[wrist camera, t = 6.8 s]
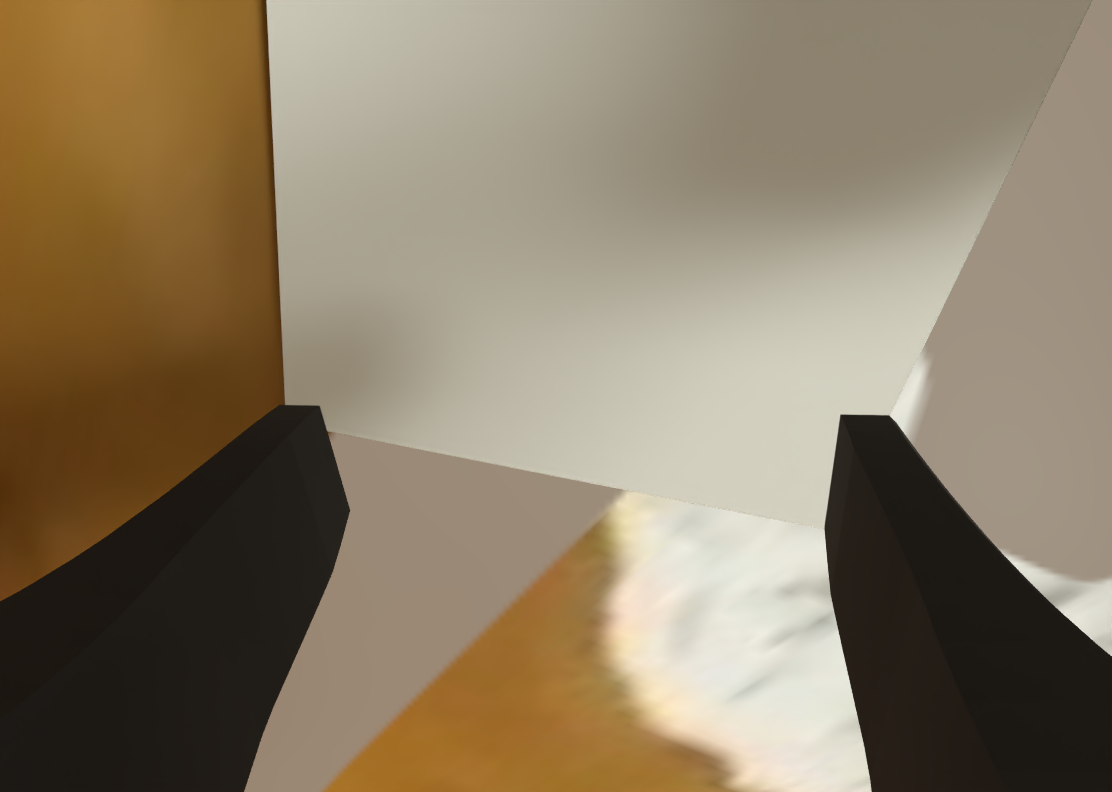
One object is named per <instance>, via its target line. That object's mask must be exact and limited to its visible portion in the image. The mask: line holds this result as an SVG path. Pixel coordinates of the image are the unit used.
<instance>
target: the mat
mask: <svg viewBox="0 0 1112 792" xmlns="http://www.w3.org/2000/svg"><path fill="white" fill-rule="evenodd" d="M266 2H267V24H268V45H269V67H270V88H271V110H272V132H273V153H274V175H275V197H276V218H277V240H278V262H279V283H280V305H281V326H282V348H283V370H284V391H285V405H317V406H320V408H321V412H322V415H323V419H324V422H325V425H326V429H327V431H329V432H334V433H339V434H344V435H349V436H354V437H359V438H364V439H369V440H374V441H379V442H384V443H389V444H395V445H400V446H405V447H410V448H415V449H420V450H425V451H430V452H435V453H440V454H445V455H451V456H455V457H461V458H466V459H471V460H476V461H481V462H486V463H491V464H496V465H502V466H506V467H512V468H516V469H522V470H526V471H532V472H537V473H542V474H547V475H552V476H557V477H562V478H567V479H572V480H577V481H582V482H587V483H592V484H597V485H603V486H608V487H613V488H618V489H623V490H628V491H633V492H638V493H643V494H648V495H653V496H658V497H663V498H668V499H674V500H679V501H684V502H689V503H694V504H699V505H704V506H709V507H714V508H719V509H724V510H729V511H734V512H739V513H745V514H750V515H755V516H760V517H765V518H770V519H775V520H780V521H785V522H790V523H795V524H800V525H805V526H810V527H816V528H821V529H825V528H824V526H825V519H826V512H827V505H828V498H829V491H830V484H831V477H832V470H833V463H834V456H835V449H836V442H837V435H838V428H839V421H840V414H847V415H889V416H890V414H891V412H892V410H893V408H894V406H895V404H896V402H897V400H898V398H899V396H900V394H901V392H902V390H903V388H904V386H905V384H906V382H907V379H908V377H909V375H910V373H911V371H912V369H913V367H914V365H915V363H916V361H917V359H918V357H919V355H920V353H921V351H922V349H923V347H924V345H925V342H926V340H927V338H928V336H929V334H930V332H931V330H932V328H933V326H934V324H935V322H936V320H937V318H938V316H939V313H940V312H941V310H942V308H943V305H944V304H945V301H946V299H947V297H948V295H949V293H950V291H951V289H952V287H953V285H954V283H955V281H956V279H957V277H958V275H959V273H960V271H961V269H962V267H963V265H964V263H965V260H966V258H967V256H968V254H969V252H970V250H971V248H972V246H973V244H974V242H975V240H976V238H977V236H978V234H979V232H980V230H981V228H982V226H983V223H984V221H985V219H986V217H987V215H988V213H989V211H990V209H991V207H992V205H993V203H994V201H995V199H996V197H997V195H998V193H999V191H1000V189H1001V186H1002V185H1003V183H1004V180H1005V178H1006V176H1007V174H1008V172H1009V170H1010V168H1011V166H1012V164H1013V162H1014V160H1015V158H1016V156H1017V154H1018V152H1019V149H1020V147H1021V145H1022V143H1023V141H1024V139H1025V137H1026V135H1027V133H1028V131H1029V129H1030V127H1031V125H1032V123H1033V121H1034V119H1035V117H1036V115H1037V113H1038V111H1039V108H1040V106H1041V104H1042V102H1043V100H1044V98H1045V96H1046V94H1047V92H1048V90H1049V88H1050V86H1051V84H1052V82H1053V80H1054V78H1055V76H1056V74H1057V72H1058V70H1059V67H1060V66H1061V63H1062V61H1063V59H1064V57H1065V55H1066V53H1067V51H1068V49H1069V47H1070V45H1071V43H1072V41H1073V39H1074V36H1075V35H1076V33H1077V31H1078V29H1079V27H1080V25H1081V22H1082V20H1083V18H1084V16H1085V14H1086V12H1087V10H1088V8H1089V6H1090V4H1091V2H1092V0H266Z"/></svg>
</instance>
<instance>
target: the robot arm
mask: <svg viewBox="0 0 1112 792" xmlns="http://www.w3.org/2000/svg"><path fill="white" fill-rule="evenodd" d="M349 512H350V509H349V505H348V502H347V498H346V495H345V492H344V488H343V485H342V481H341V477H340V474H339V471H338V467H337V463H336V460H335V457H334V453H333V450H332V446H331V443H330V439H329V436H328V432H327V429H326V425H325V422H324V419H323V415H322V412H321V408H320V406H317V405H279V406H277V407H276V408H275V409H273V410H272V411H270V412H269V413H268V414H266V415H265V416H264V417H262V418H261V419H260V420H258V421H257V422H256V423H254V424H253V425H252V426H251V427H249V428H248V429H247V430H246V431H244V432H243V433H242V434H240V435H239V436H238V437H237V438H235V439H234V440H233V441H232V442H230V443H229V444H228V445H227V446H225V447H224V448H223V449H222V450H220V451H219V452H218V453H217V454H216V455H214V456H213V457H212V458H210V459H209V460H208V461H207V462H205V463H204V464H203V465H202V466H200V467H199V468H198V469H196V470H195V471H194V472H193V473H191V474H190V475H189V476H188V477H186V478H185V479H184V480H183V481H181V482H180V483H179V484H177V485H176V486H175V487H174V488H172V489H171V490H170V491H168V492H167V493H166V494H165V495H163V496H162V497H160V498H159V499H158V500H156V501H155V502H153V503H152V504H151V505H149V506H148V507H147V508H145V509H144V510H142V511H141V512H140V513H138V514H137V515H136V516H134V517H133V518H131V519H130V520H129V521H127V522H126V523H125V524H123V525H122V526H120V527H119V528H118V529H116V530H115V531H113V532H112V533H111V534H109V535H108V536H107V537H105V538H104V539H102V540H101V541H99V542H98V543H96V544H95V545H93V546H92V547H90V548H89V549H87V550H86V551H84V552H83V553H81V554H80V555H78V556H76V557H75V558H73V559H72V560H70V561H69V562H67V563H65V564H64V565H62V566H61V567H59V568H57V569H56V570H54V571H52V572H51V573H49V574H47V575H46V576H44V577H43V578H41V579H39V580H38V581H36V582H34V583H33V584H31V585H29V586H28V587H26V588H24V589H22V590H21V591H19V592H17V593H15V594H13V595H11V596H10V597H8V598H6V599H4V600H2V601H0V792H244V790H245V787H246V784H247V781H248V778H249V775H250V772H251V768H252V765H253V762H254V759H255V756H256V753H257V750H258V747H259V743H260V741H261V738H262V735H263V732H264V730H265V727H266V724H267V722H268V719H269V717H270V714H271V712H272V709H273V707H274V704H275V702H276V700H277V698H278V695H279V693H280V691H281V688H282V686H283V684H284V682H285V680H286V677H287V675H288V673H289V671H290V668H291V666H292V664H293V661H294V659H295V657H296V655H297V653H298V650H299V648H300V646H301V644H302V641H303V639H304V637H305V635H306V632H307V630H308V628H309V625H310V623H311V621H312V619H313V617H314V614H315V612H316V609H317V607H318V605H319V603H320V600H321V598H322V596H323V594H324V591H325V589H326V587H327V584H328V582H329V579H330V577H331V575H332V572H333V569H334V566H335V562H336V559H337V556H338V552H339V549H340V546H341V542H342V538H343V534H344V531H345V527H346V523H347V520H348V516H349ZM824 528H825V539H826V551H827V562H828V572H829V582H830V592H831V598H832V603H833V607H834V612H835V617H836V621H837V626H838V630H839V635H840V639H841V644H842V649H843V653H844V658H845V662H846V666H847V671H848V675H849V680H850V684H851V689H852V693H853V698H854V702H855V707H856V711H857V716H858V720H859V725H860V729H861V733H862V738H863V742H864V747H865V753H866V758H867V764H868V770H869V775H870V781H871V789H872V792H1112V656H1110V655H1109V654H1108V653H1107V652H1106V651H1104V650H1103V649H1102V648H1101V647H1100V646H1098V645H1097V644H1096V643H1095V642H1094V641H1093V640H1091V639H1090V638H1089V637H1088V636H1087V635H1086V634H1085V633H1084V632H1082V631H1081V630H1080V629H1079V628H1078V627H1077V626H1076V625H1075V624H1073V623H1072V622H1071V621H1070V620H1069V619H1068V618H1067V617H1066V616H1064V615H1063V614H1062V613H1061V612H1060V611H1059V610H1058V609H1057V608H1056V607H1055V606H1054V605H1053V604H1052V603H1050V602H1049V601H1048V600H1047V599H1046V598H1045V597H1044V596H1043V595H1042V594H1041V593H1040V592H1039V591H1038V590H1037V589H1036V588H1035V587H1034V586H1033V585H1032V584H1031V583H1030V582H1029V581H1028V580H1027V579H1026V578H1025V577H1024V576H1023V575H1022V574H1021V573H1020V572H1019V570H1018V569H1017V568H1016V567H1015V566H1014V565H1013V564H1012V563H1011V562H1010V561H1009V560H1008V559H1007V558H1006V557H1005V556H1004V555H1003V554H1002V553H1001V552H1000V550H999V549H998V548H997V547H996V546H995V545H994V544H993V543H992V542H991V541H990V539H989V538H988V537H987V536H986V535H985V534H984V533H983V532H982V530H981V529H980V528H979V527H978V526H977V525H976V523H975V522H974V521H973V520H972V519H971V518H970V516H969V515H968V514H967V513H966V512H965V511H964V509H963V508H962V507H961V506H960V505H959V504H958V502H957V501H956V500H955V499H954V498H953V496H952V495H951V494H950V493H949V492H948V490H947V489H946V488H945V487H944V485H943V484H942V483H941V482H940V480H939V479H938V478H937V476H936V475H935V474H934V473H933V471H932V470H931V469H930V468H929V466H928V465H927V464H926V462H925V461H924V460H923V458H922V457H921V456H920V454H919V453H918V452H917V450H916V449H915V448H914V446H913V445H912V444H911V442H910V441H909V440H908V438H907V437H906V436H905V434H904V433H903V431H902V430H901V429H900V427H899V426H898V425H897V423H896V422H895V421H894V420H893V419H892V418H891V417H890V416H889V415H847V414H840V421H839V428H838V435H837V442H836V449H835V456H834V463H833V470H832V477H831V484H830V491H829V498H828V505H827V512H826V519H825V526H824Z"/></svg>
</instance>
